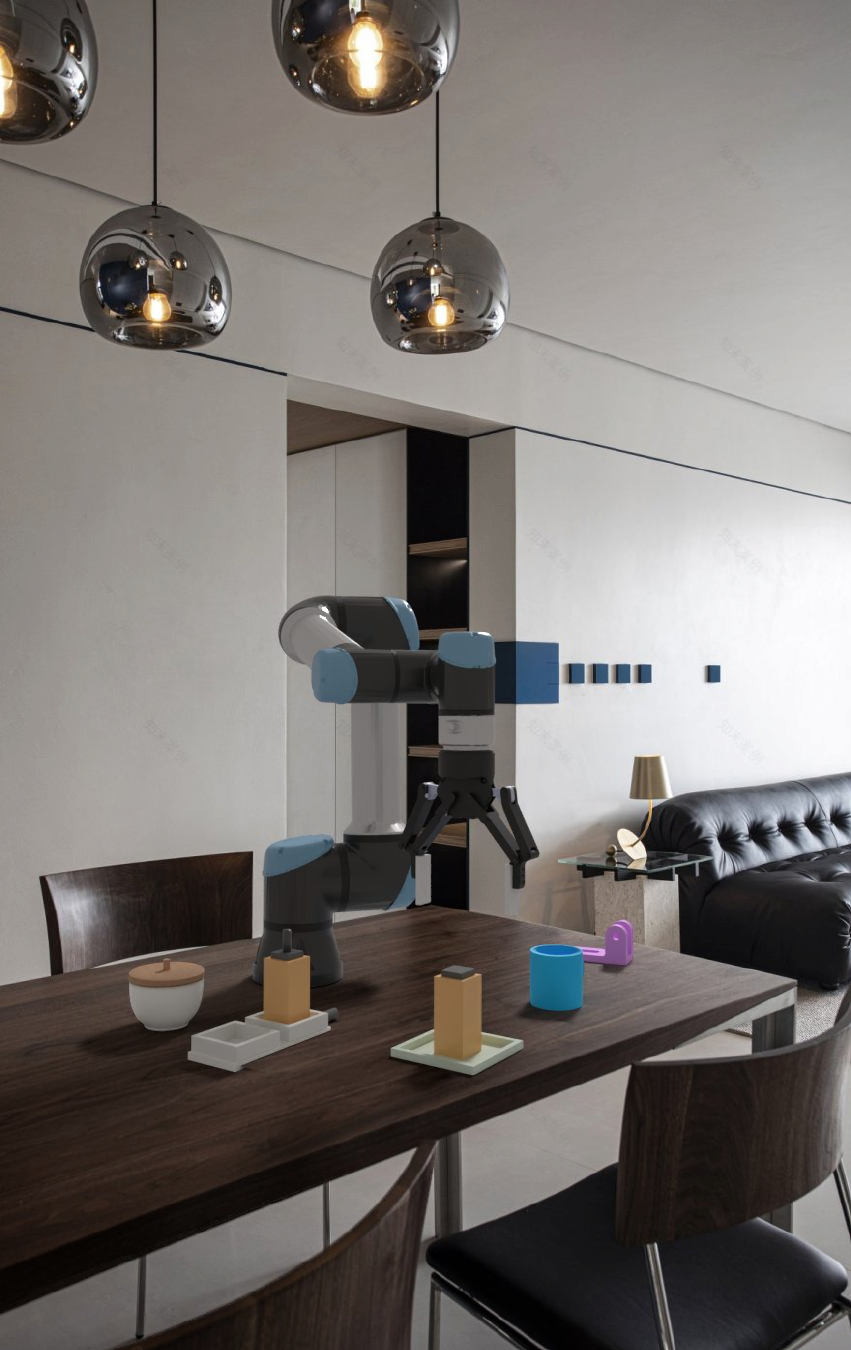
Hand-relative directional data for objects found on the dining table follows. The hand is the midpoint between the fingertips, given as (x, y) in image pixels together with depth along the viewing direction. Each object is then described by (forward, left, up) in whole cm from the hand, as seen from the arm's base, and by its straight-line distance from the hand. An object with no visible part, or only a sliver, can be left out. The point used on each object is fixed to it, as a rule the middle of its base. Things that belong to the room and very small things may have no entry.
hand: (466, 908), depth 146 cm
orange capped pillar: (0, -1, -19) cm, 19 cm away
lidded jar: (-42, -13, -19) cm, 49 cm away
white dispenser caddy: (-24, -10, -19) cm, 33 cm away
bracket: (-9, +59, -20) cm, 62 cm away
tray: (0, -1, -19) cm, 19 cm away
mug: (-1, +31, -19) cm, 36 cm away
